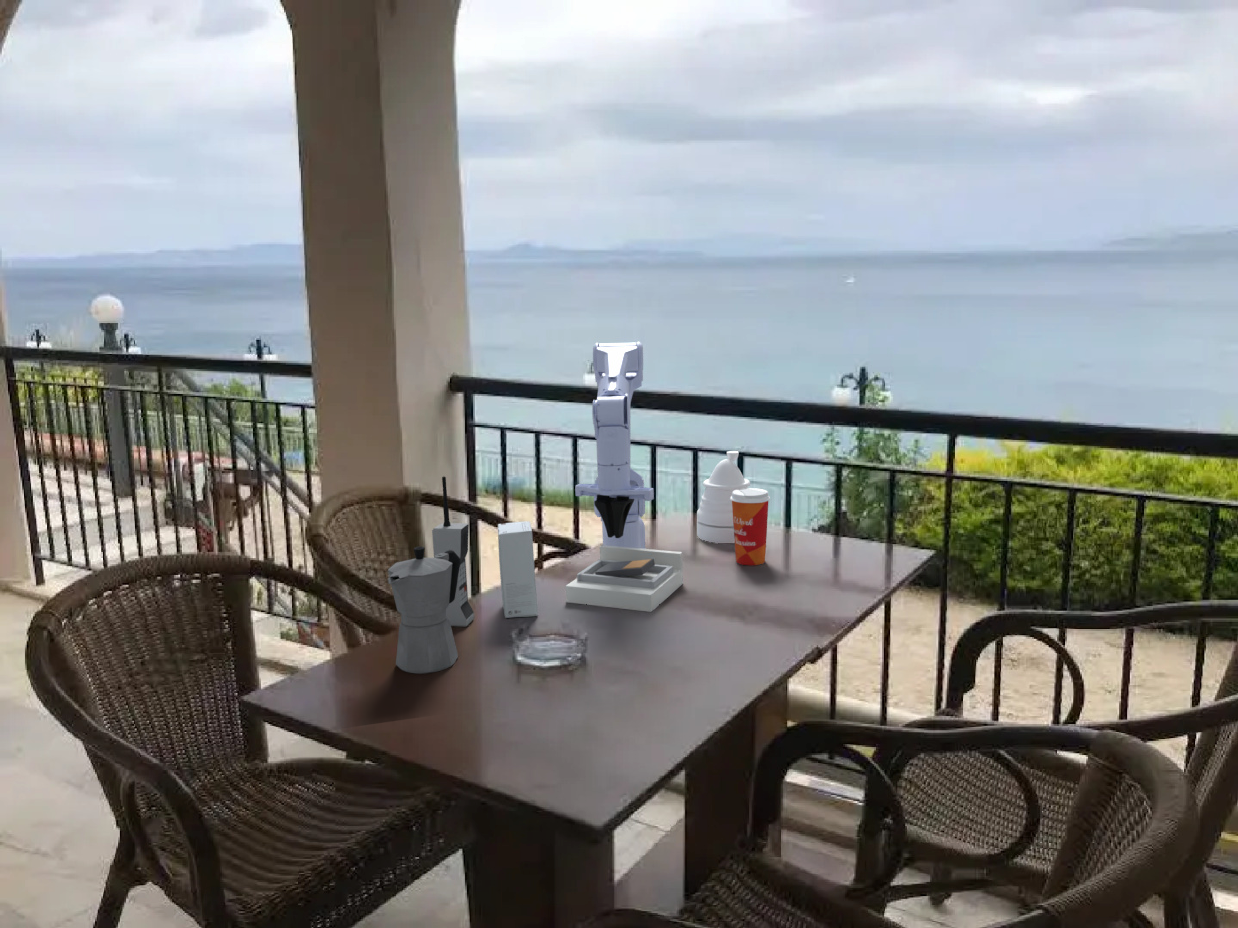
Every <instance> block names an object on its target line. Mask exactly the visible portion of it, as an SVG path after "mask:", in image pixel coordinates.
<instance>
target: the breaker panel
mask: <svg viewBox="0 0 1238 928" xmlns="http://www.w3.org/2000/svg"><path fill="white" fill-rule="evenodd" d="M644 559H654V562H655V565H654V566H653V567H652V568H651V569H649V570H648V571H647V572H646V573H644V574H643V575H634V576H623V577H614V576H604V575H596V574H595V572H596V571H598V570H599V569H601V568H602V567H603V566H605V565H606V564H608V563H611V562H622V561H633V560H644ZM683 561H684V559H683V551H674V550H663V549H651V548H645V549H641V548H630V547H618V546H607V545H603V544H602V545H600V546H599V559H597V560H596V561H595V562H594V561H593V563H591V564H590V565H588V566H587V567H586V568H584V569H583V570H581V571H580V572H578V573H577V574H576V578H575V579H574V580H572V581H571V582H569V583H568V584H566V585H565V599H566V600H565V602H566V603H568V604H569V603H570V604H580V605H586V604H587V606H596V607H605V608H615V609H624V610H630V611H631V610H632V611H638V612H639V611H640V612H649V613H652V612H653V611H654V610H655V609H656V608H658V607H659V606H660V605H661V604H662V603H664V601H666V600H667V598H669V597H670V596H671V595H672V594H673V593H674V592H675V591H677V590H678V589H679V588H680V587H681V586H683V584H684V569H683V568H684V567H683V566H684V565H683V564H684V563H683ZM659 604H660V605H659Z"/></svg>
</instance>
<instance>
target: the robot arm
mask: <svg viewBox="0 0 1238 928" xmlns="http://www.w3.org/2000/svg"><path fill="white" fill-rule="evenodd" d="M643 346H644V345H643V343H642V342H641V341H637V342H607V343H606V342H605V343H600V342H595V344H593V347H592V365H593V366H592V367H593V372H594V377H595V379H594V380H595V383H596V387H597V388H598V389H597V396H596V399H593V401H592V404H591V405H592V407H591V408H592V410H591V414H592V424H593V429H594V438H595V439H596V443H595V444H596V463H597V464H596V465H597V466H596V467H597V476H596V479H595V481H594V483H579V484H576V485H574V486H575V489H574V491H575V496H576V497H582V496H583V497H584V496H585V497H593V508H594V514H595V516H596V517H597V518H600V522H601V524H602V525H601V528H602V532H601V533H602V545H607V546H618V547H630V548H641V549H646V526H645V522H644V521H643V519H642V518H641V517H644V516H645V514H646V501H647V502H651V501H652V500H654V499H655V497H654V495H655V492H654V491H655V490H654V488H653V487H646V486H645V480H644V478H643V476H642V475H641V474H640V473H638V472H637V471H635V470H634V469H632V468H631V402H632V398H633V395H634V391H635V390H637V389H640V387H642V385H643V381H644V375H643V374H644V373H643V372H644V347H643Z"/></svg>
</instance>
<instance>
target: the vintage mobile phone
mask: <svg viewBox="0 0 1238 928" xmlns="http://www.w3.org/2000/svg"><path fill="white" fill-rule="evenodd" d="M441 483H442V497H443V505H442V506H443V507H442V508H443V509H442V510H443V522H441V523H440V524H438V525H437V526H435V527H434V528H432V530H431V531H432V532H431V533H432V534H431V535H432V536H431V537H432V548H433V558H435V555H437V554H440V553H444V552H446V551H448V550H453V551H454V552H455V553H456V554H457V555H458V556H459V558H460V568H459V574H458V581H457V588H456V594H455V599H454V601H453V602H451V603H450V604H449V605H448V607H447V608H446V616H447V618H448V619H449V621H450V625H451V627H465V628H467V627H468V626H469V624H470V623H471V622H472V621H473V620H474V619H475V612H474V610H473V608H472V606H471V605H470V602H469V595H468V593H469V592H468V580H467V579H468V577H467V566H466V557H467V555H468V551H469V528H470V527H469V523H467V522H466V523H465V522H463V523H462V522H461V523H460V522H457V523H456V522H450V513H449V512H450V510H449V509H450V508H449V504H448V493H447V491H448V490H447V477H446V476H445V475H443V476H442V477H441Z"/></svg>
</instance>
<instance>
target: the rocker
mask: <svg viewBox="0 0 1238 928" xmlns="http://www.w3.org/2000/svg"><path fill="white" fill-rule="evenodd" d="M654 565H655V562H654V559H644V560H633V561H622V562H611V563H608V564H606V565H605V566H603V567H602V568H601V569H599V570H598V571H596V572H595V574H596V575H604V576H614V577H623V576H634V575H643V574H644V573H646V572H647V571H648V570H649V569H651V568H652V567H653V566H654Z"/></svg>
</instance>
